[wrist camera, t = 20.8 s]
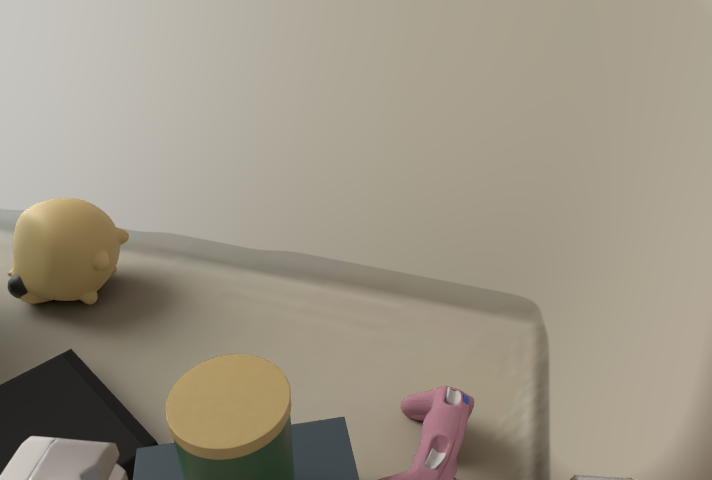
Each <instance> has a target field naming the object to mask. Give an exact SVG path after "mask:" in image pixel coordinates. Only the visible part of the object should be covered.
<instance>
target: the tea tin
mask: <svg viewBox="0 0 712 480" xmlns="http://www.w3.org/2000/svg"><path fill="white" fill-rule="evenodd" d="M290 411H291V392H290V386H289V383H288V380H287V378H286V377H285V375H284V373H283V372H282V371H281V370H280V369H279V368H278V367H277V366H275V365H274V364H272V363H271V362H269V361H267V360H265V359H262V358H259V357H256V356H251V355H226V356H220V357H217V358H213V359H210V360H207V361H205V362H203V363H201V364H199V365H197V366H195V367H193V368H192V369H190V370H189V371H188V372H186V373H185V374H184V375H183V376H182V377H181V378H180V379H179V380H178V381H177V382H176V384H175V385H174V386H173V388H172V390H171V391H170V393H169V396H168V399H167V402H166V418H167V423H168V427H169V430H170V433H171V435H172V437H173V438H174V442H175V446H176V451H177V455H178V459H179V463H180V467H181V471H182V475H183V480H295V474H294V460H293V446H292V433H291V419H290Z"/></svg>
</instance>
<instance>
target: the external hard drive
mask: <svg viewBox="0 0 712 480" xmlns="http://www.w3.org/2000/svg"><path fill="white" fill-rule="evenodd" d="M31 436H38V437H52V438H61V439H73V440H85V441H96V442H108V443H115V444H116V446H117V449H118V451H119V453H120V456H119V458H118V460H117V462H116V463H117V464H118V465H119V466H121V467H122V468H123V469H124V470H125V471H126V474H127V477H128V480H133V475H134V467H135V460H136V452H137V449H138V448H144V447H151V446H157V445H158V444H157V442H156V441H155V439H154V438H153V437H152V436H151V435H150V434H149V433H148V432H147V431H146V430H145V429H144V427H143V426H142V425H141V424H140V423H139V422H138V421H137V420H136V419H135V418H134V417H133V416H132V414H131V413H130V412H129V411H128V410H127V409H126V408H125V407H124V406H123V405H122V404H121V403H120V401H119V400H118V399H117V398H116V397H115V396H114V395H113V394H112V393H111V392H110V391H109V390H108V388H107V387H106V386H105V385H104V384H103V383H102V382H101V381H100V380H99V379H98V378H97V376H96V375H95V374H94V373H93V372H92V371H91V370H90V369H89V368H88V367H87V366H86V365H85V363H84V362H83V361H82V360H81V359H80V358H79V357H78V356H77V355H76V354H75V353H74V352H73V350H72V349H70V350H68V351H66V352H64V353H62V354H60V355H58V356H56V357H54V358H52V359H51V360H49V361H47V362H45V363H43V364H41V365H39V366H37V367H35V368H33V369H31V370H29V371H27V372H25V373H23V374H21V375H19V376H17V377H15V378H13V379H11V380H9V381H7V382H5V383H3V384H2V385H0V475H1V474H2V472H3V471H4V469H5V468H6V466H7V465H8V463H9V462H10V460H11V459H12V457H13V456H14V454H15V453H16V451H17V450H18V448H19V447H20V445H21V444H22V443H23V442H24V441H26V440H27V439H28V438H29V437H31Z"/></svg>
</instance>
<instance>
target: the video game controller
mask: <svg viewBox="0 0 712 480" xmlns="http://www.w3.org/2000/svg"><path fill="white" fill-rule="evenodd" d="M473 407H474V399H473V398H472V397H471V396H469V395H467V394H466V393H464V392H462V391H461V390H459V389H456V388H452V387H448V386H442V387H439V388H436V389H434V390H430V391H426V392H421V393H416V394H413V395H410V396H408V397H406V398H405V399H404V400H403V402H402V403H401V410H402V412H403V413H404V414H405V415H406V416H407V417H409V418H411V419H414V420H419V421H424V422H423V425H422V434H421V443H420V445H419V448H418V451H417V454H416V457H415V460H414V463H413V465H412V467H411V468H410V469H409V470H407V471H405V472H403V473H400V474H397V475H394V476H390V477H385V478H382V479H379V480H456V478H455V475H456V472H457V465H458V463H457V460H456V458H457V455H458V453H459V450H460V447H461V444H462V441H463V438H464V434H465V431H466V426H467V422H468V418H469V416H470V414H471V412H472V409H473Z"/></svg>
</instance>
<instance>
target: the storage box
mask: <svg viewBox="0 0 712 480" xmlns="http://www.w3.org/2000/svg"><path fill="white" fill-rule="evenodd" d="M291 433H292V446H293V460H294V474H295V480H359V477H358V473H357V469H356V464H355V460H354V456H353V452H352V447H351V443H350V439H349V435H348V430H347V426H346V422H345V418H344V417H339V418H332V419H326V420H319V421H313V422H306V423H300V424H293V425H291ZM133 480H183V475H182V471H181V467H180V463H179V459H178V455H177V451H176V446H175V443H170V444H164V445H157V446H151V447H144V448H138V449H137V452H136V460H135V467H134V475H133Z"/></svg>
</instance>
